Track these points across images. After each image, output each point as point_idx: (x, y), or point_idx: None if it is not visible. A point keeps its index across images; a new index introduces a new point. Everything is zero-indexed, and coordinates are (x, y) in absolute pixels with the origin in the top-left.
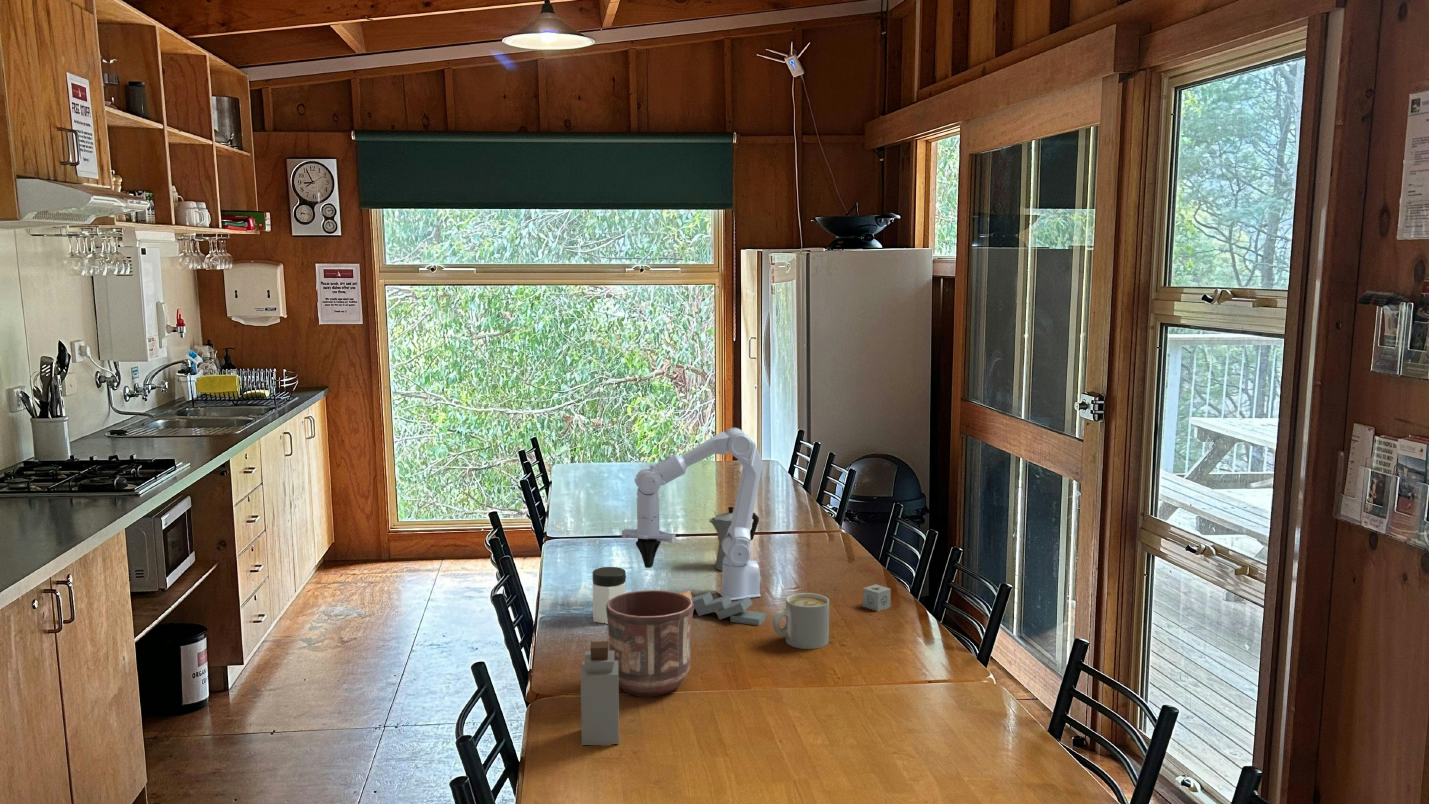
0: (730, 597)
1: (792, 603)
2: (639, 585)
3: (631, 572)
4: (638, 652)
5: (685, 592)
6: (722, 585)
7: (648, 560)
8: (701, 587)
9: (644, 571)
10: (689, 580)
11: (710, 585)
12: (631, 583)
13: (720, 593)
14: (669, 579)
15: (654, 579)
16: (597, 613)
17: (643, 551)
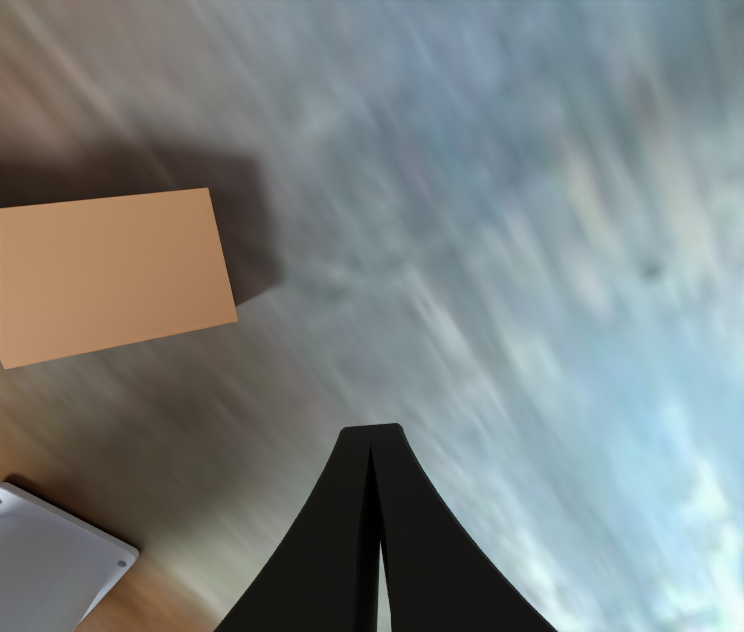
0: (6, 509)
1: None
2: (530, 478)
3: (641, 591)
4: None
5: (8, 325)
6: (58, 577)
7: (331, 481)
8: (246, 568)
9: (589, 619)
10: None
11: (229, 599)
12: (582, 484)
13: (90, 532)
14: None
15: (499, 565)
16: None
17: (423, 609)
